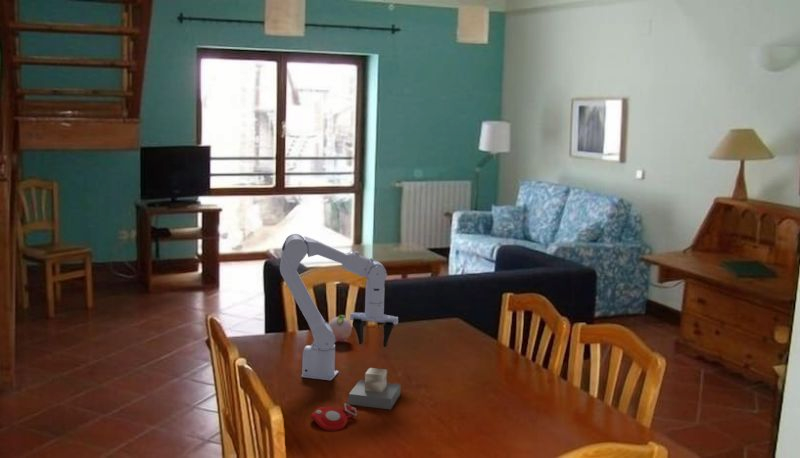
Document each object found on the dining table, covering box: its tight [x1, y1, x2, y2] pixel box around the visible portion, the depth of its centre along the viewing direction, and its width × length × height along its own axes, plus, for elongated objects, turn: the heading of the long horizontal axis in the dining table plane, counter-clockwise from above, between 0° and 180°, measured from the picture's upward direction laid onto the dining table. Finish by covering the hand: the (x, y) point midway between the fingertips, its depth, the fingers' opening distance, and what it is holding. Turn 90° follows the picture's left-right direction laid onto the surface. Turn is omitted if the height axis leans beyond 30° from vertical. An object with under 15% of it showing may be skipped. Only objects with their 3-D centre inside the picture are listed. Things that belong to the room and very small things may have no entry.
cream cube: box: [364, 367, 388, 393], centre depth 225 cm, size 5×5×5 cm
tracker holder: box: [310, 402, 358, 432], centre depth 209 cm, size 12×4×10 cm
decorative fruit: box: [328, 314, 353, 343], centre depth 276 cm, size 9×8×10 cm
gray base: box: [347, 379, 402, 410], centre depth 225 cm, size 12×12×3 cm
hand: (373, 344), depth 244 cm, fingers open, 7 cm apart
